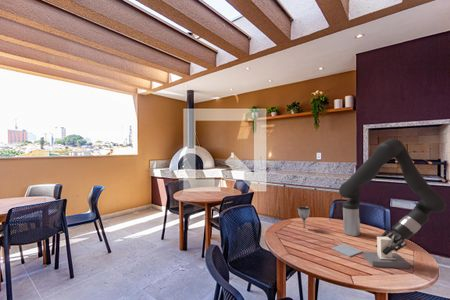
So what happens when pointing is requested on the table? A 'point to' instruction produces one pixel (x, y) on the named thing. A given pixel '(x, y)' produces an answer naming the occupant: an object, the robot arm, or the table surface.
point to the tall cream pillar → (383, 247)
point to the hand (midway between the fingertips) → (380, 250)
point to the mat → (346, 250)
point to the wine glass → (303, 213)
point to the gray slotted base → (386, 260)
